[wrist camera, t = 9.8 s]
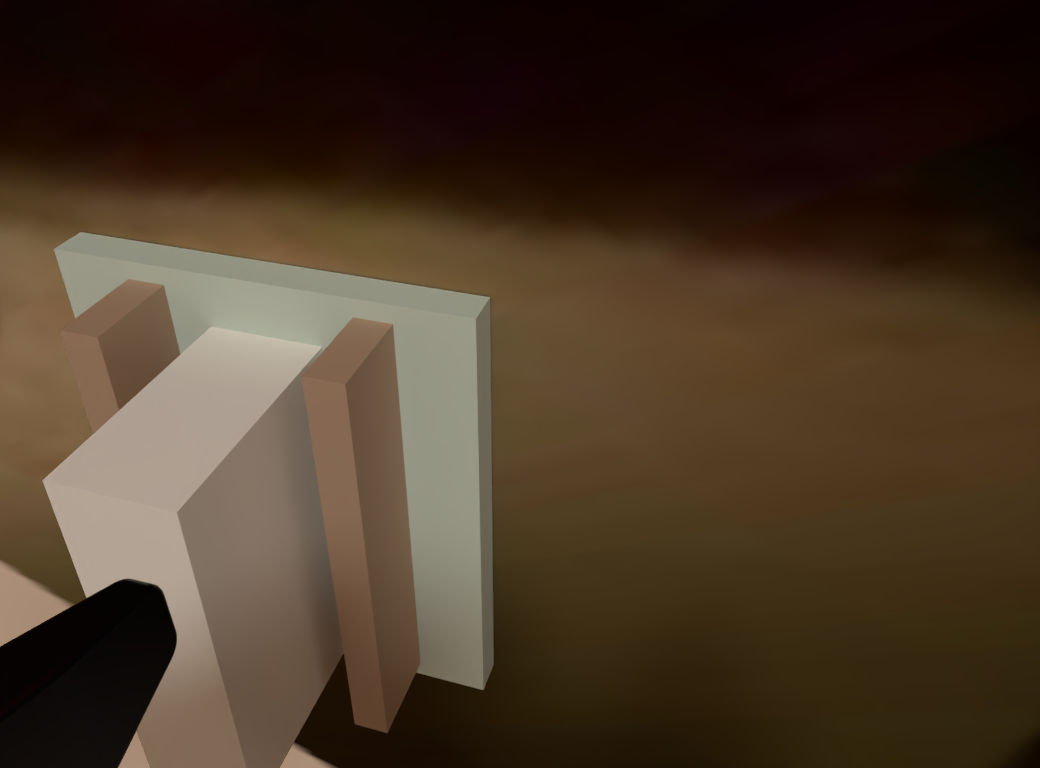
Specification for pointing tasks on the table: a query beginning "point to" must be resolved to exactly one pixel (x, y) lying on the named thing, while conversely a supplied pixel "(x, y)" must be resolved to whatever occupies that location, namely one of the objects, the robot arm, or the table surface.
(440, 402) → the slotted stand
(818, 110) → the table surface
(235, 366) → the grey rectangular block
